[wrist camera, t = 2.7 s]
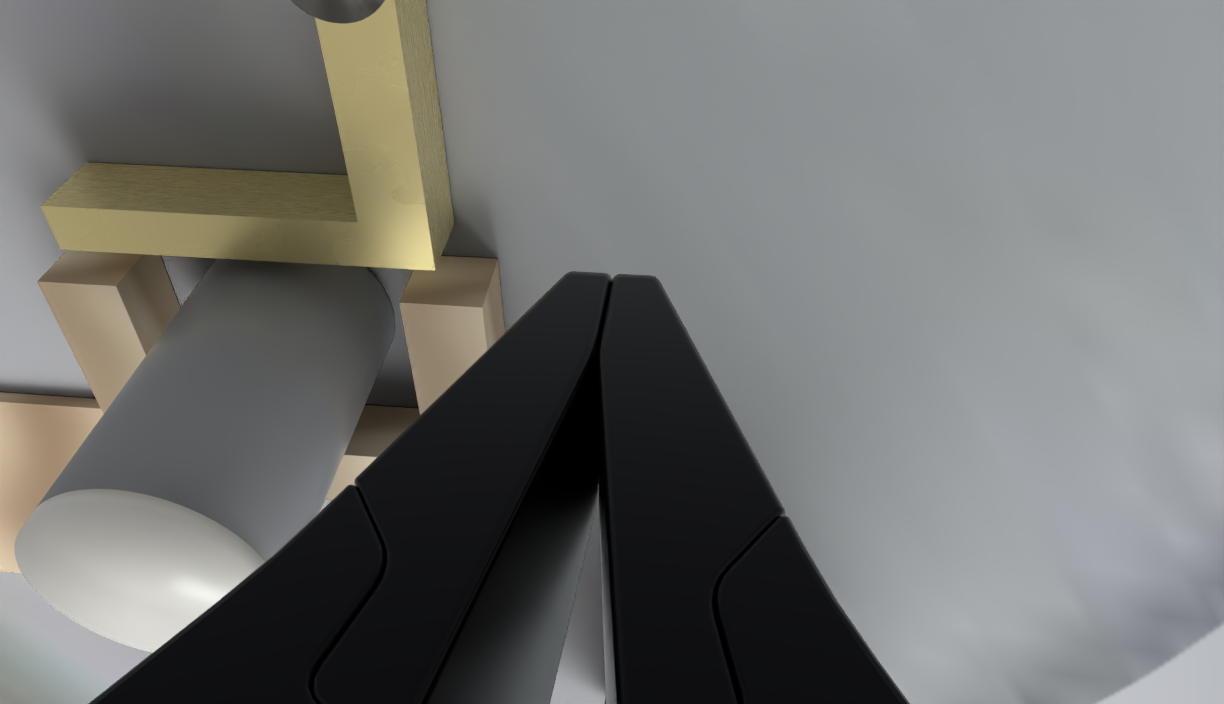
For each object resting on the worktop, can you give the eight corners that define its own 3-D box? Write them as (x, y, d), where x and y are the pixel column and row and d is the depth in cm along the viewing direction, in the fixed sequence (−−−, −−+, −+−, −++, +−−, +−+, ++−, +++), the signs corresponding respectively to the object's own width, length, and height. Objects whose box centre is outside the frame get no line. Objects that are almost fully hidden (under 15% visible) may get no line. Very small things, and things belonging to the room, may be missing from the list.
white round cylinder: (378, 235, 23) (235, 516, 16) (407, 382, 26) (297, 667, 20) (186, 225, 24) (-33, 496, 17) (238, 371, 27) (72, 647, 20)
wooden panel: (154, 402, 28) (148, 411, 28) (233, 580, 34) (228, 589, 34) (-126, 384, 29) (-135, 392, 28) (0, 561, 34) (-7, 570, 34)
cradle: (498, 259, 23) (482, 307, 22) (517, 461, 28) (505, 512, 27) (80, 236, 24) (37, 281, 23) (169, 437, 29) (139, 485, 27)
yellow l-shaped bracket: (419, -172, 17) (376, -133, 15) (466, 223, 23) (439, 292, 21) (-57, -183, 18) (-163, -147, 16) (103, 204, 23) (41, 269, 21)
